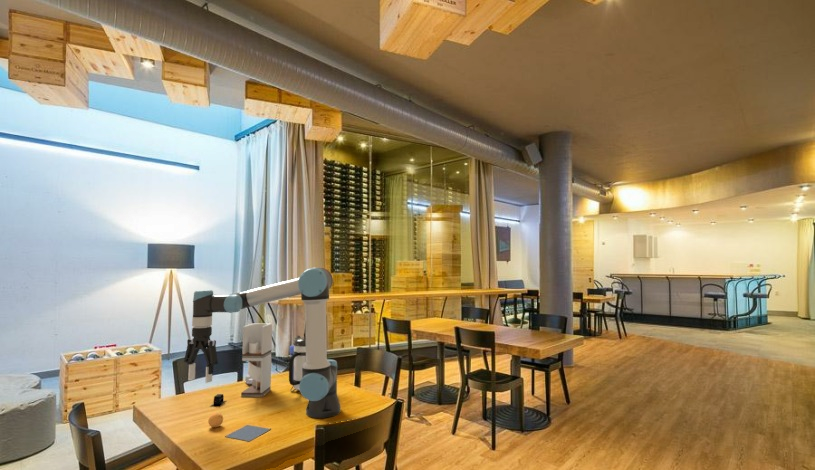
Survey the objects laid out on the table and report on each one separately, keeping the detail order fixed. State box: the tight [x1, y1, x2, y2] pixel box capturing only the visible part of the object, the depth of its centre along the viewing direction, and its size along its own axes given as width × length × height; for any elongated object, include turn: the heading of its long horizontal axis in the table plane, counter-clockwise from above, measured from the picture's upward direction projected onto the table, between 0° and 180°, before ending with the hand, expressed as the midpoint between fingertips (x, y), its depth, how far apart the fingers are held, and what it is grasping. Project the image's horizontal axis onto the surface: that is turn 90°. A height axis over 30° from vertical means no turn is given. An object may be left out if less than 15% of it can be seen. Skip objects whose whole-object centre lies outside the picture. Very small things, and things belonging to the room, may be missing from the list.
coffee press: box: [288, 332, 306, 393], centre depth 212 cm, size 17×16×30 cm
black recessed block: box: [209, 393, 227, 408], centre depth 192 cm, size 12×7×5 cm, turn 1°
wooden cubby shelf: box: [240, 322, 273, 398], centre depth 209 cm, size 11×11×35 cm
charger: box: [245, 374, 253, 385], centre depth 226 cm, size 5×9×15 cm
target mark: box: [224, 424, 271, 442], centre depth 157 cm, size 12×12×1 cm
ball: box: [208, 412, 224, 428], centre depth 164 cm, size 6×6×6 cm
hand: (200, 380), depth 169 cm, fingers open, 9 cm apart
